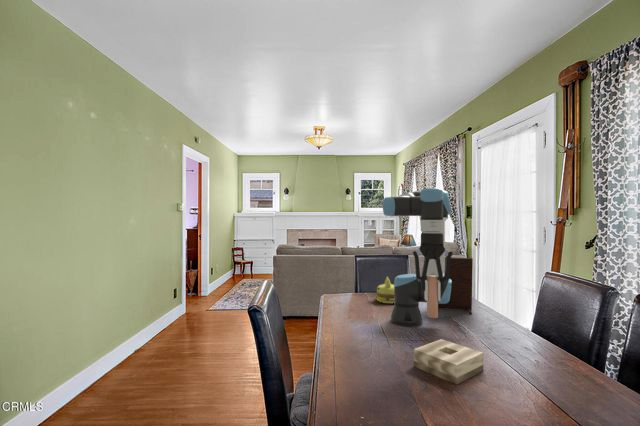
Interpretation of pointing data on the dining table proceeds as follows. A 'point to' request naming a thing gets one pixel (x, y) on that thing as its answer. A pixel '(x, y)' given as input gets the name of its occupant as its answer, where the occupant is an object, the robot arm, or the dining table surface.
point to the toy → (385, 292)
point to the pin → (432, 296)
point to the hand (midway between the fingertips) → (432, 299)
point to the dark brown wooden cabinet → (460, 285)
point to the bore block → (448, 360)
